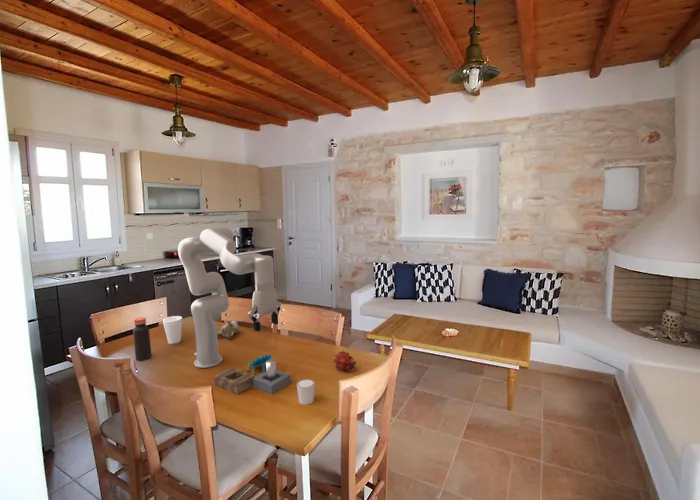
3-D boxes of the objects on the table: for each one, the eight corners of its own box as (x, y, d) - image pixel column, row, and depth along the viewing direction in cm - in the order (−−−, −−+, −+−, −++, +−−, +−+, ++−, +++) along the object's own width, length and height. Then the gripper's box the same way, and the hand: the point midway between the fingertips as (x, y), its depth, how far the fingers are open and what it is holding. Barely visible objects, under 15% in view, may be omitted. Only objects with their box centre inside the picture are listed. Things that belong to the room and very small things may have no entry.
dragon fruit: (337, 366, 170) (353, 380, 160) (325, 361, 164) (341, 374, 155) (347, 350, 171) (363, 363, 162) (335, 344, 165) (351, 357, 156)
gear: (268, 359, 171) (271, 350, 164) (273, 370, 169) (276, 362, 161) (246, 368, 166) (247, 359, 158) (250, 380, 163) (252, 372, 156)
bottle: (132, 359, 177) (128, 319, 175) (146, 354, 183) (142, 315, 180) (141, 361, 174) (137, 321, 171) (154, 356, 180) (151, 317, 177)
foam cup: (171, 346, 193) (169, 322, 191) (161, 343, 197) (159, 320, 195) (187, 340, 201) (185, 317, 199) (177, 337, 205) (175, 315, 204)
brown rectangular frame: (215, 384, 151) (214, 375, 151) (232, 376, 159) (232, 367, 158) (237, 394, 144) (236, 385, 143) (254, 384, 151) (254, 375, 150)
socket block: (252, 386, 149) (252, 378, 149) (272, 375, 158) (271, 368, 158) (271, 394, 143) (271, 385, 143) (290, 382, 152) (290, 374, 152)
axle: (264, 385, 150) (263, 362, 149) (272, 381, 154) (270, 358, 152) (271, 387, 148) (270, 364, 147) (278, 383, 152) (277, 361, 150)
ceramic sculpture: (243, 317, 211) (227, 327, 196) (244, 331, 212) (229, 342, 198) (227, 316, 214) (211, 326, 199) (228, 330, 215) (212, 341, 201)
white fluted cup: (315, 395, 142) (315, 378, 141) (314, 405, 135) (314, 387, 134) (298, 395, 142) (297, 379, 141) (296, 405, 135) (295, 388, 134)
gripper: (273, 281, 155) (274, 319, 158) (241, 289, 141) (243, 331, 143) (286, 283, 151) (287, 322, 153) (254, 292, 137) (256, 335, 139)
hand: (266, 327), depth 148 cm, fingers open, 9 cm apart
